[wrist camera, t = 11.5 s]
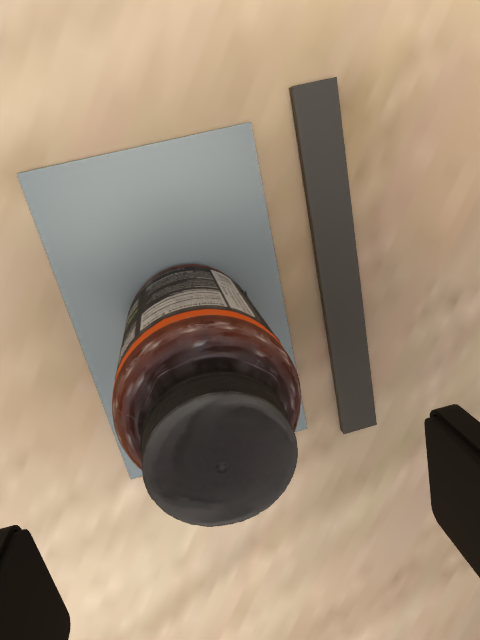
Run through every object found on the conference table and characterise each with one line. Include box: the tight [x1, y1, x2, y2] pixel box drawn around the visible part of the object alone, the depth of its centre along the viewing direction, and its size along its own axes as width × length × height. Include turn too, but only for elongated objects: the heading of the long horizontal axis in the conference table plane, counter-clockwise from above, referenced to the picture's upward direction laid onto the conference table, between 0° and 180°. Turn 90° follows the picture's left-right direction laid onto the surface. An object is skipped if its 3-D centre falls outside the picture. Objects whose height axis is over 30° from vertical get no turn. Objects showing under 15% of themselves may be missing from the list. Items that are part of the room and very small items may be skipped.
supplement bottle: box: [112, 264, 301, 527], centre depth 16 cm, size 6×6×11 cm
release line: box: [289, 77, 377, 434], centre depth 22 cm, size 2×18×1 cm, turn 12°
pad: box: [17, 122, 307, 479], centre depth 22 cm, size 10×16×1 cm, turn 12°
